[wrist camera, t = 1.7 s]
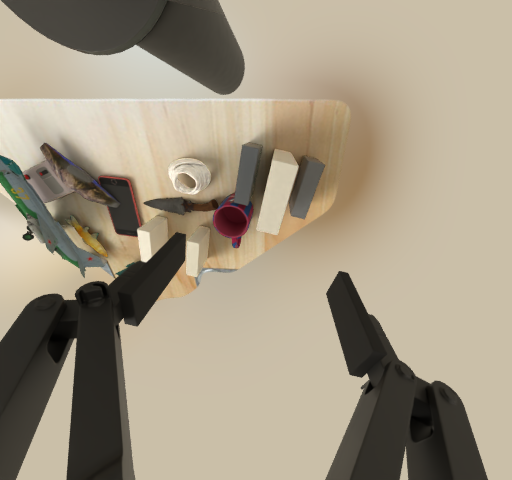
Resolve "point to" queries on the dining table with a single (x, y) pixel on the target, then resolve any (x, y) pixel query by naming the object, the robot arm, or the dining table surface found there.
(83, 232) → the fish
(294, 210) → the pair of grey blocks
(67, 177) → the decorative rock
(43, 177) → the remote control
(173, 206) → the knife
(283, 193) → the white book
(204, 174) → the white cloth wrap
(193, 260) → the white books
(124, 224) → the smartphone
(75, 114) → the dining table surface
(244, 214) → the cup
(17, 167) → the airplane
